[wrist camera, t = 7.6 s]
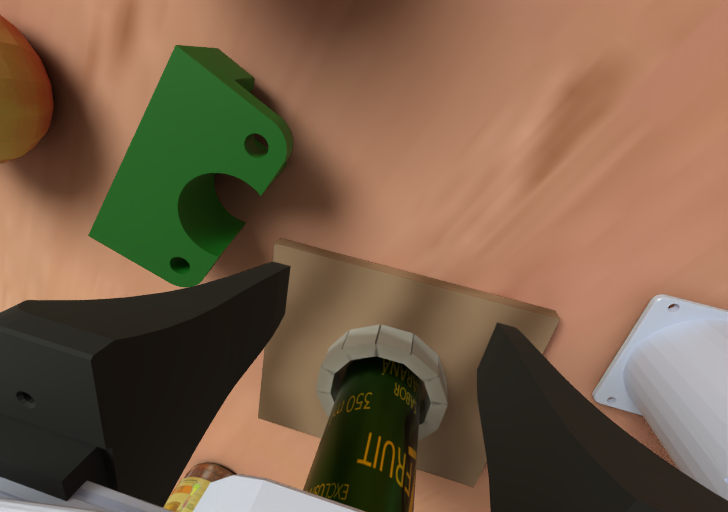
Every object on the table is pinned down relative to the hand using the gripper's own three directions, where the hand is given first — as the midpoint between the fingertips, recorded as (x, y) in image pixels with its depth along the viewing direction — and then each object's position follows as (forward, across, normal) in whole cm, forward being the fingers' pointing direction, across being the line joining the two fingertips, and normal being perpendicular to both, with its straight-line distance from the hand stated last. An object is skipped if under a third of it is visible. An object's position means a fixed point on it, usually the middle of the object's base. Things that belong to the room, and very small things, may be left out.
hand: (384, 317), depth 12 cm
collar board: (+10, -1, +11) cm, 15 cm away
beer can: (+10, -1, +11) cm, 15 cm away
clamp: (+12, +11, -3) cm, 17 cm away
